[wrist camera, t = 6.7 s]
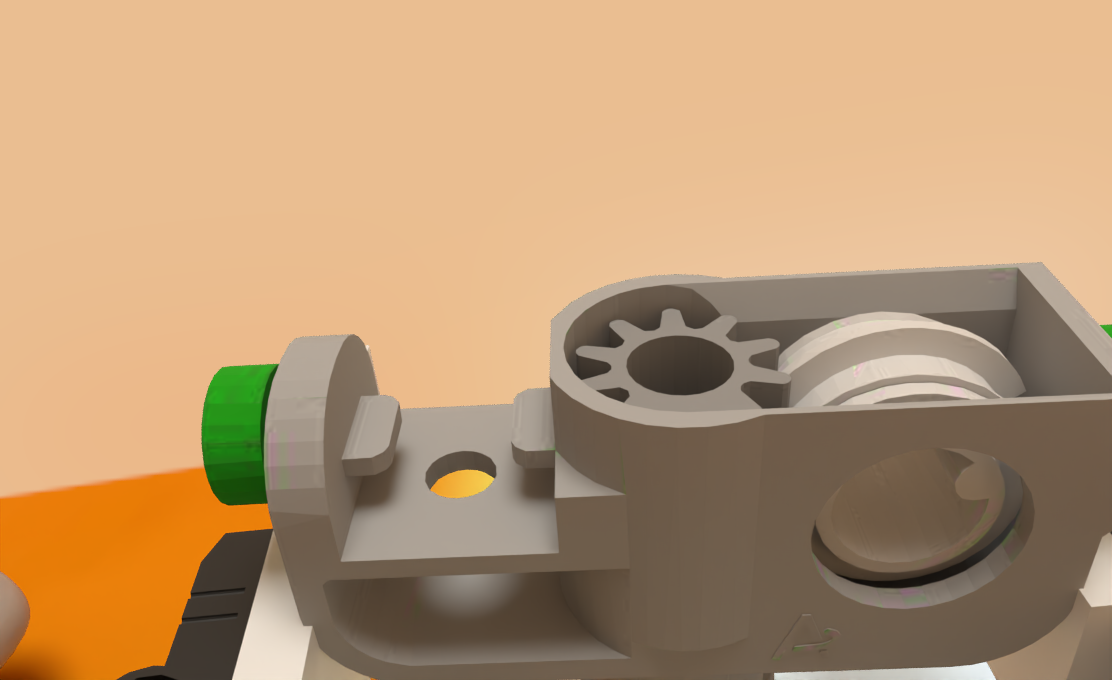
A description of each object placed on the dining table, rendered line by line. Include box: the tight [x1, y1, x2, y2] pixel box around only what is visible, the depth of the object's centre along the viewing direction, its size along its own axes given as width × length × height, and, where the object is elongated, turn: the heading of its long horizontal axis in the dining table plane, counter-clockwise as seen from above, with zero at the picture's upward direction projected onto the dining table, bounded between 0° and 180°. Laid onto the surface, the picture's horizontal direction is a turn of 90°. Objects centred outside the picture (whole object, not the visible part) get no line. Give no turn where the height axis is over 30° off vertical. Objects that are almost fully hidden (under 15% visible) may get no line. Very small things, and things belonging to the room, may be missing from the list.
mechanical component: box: [202, 262, 1112, 680], centre depth 13 cm, size 3×10×10 cm, turn 90°
